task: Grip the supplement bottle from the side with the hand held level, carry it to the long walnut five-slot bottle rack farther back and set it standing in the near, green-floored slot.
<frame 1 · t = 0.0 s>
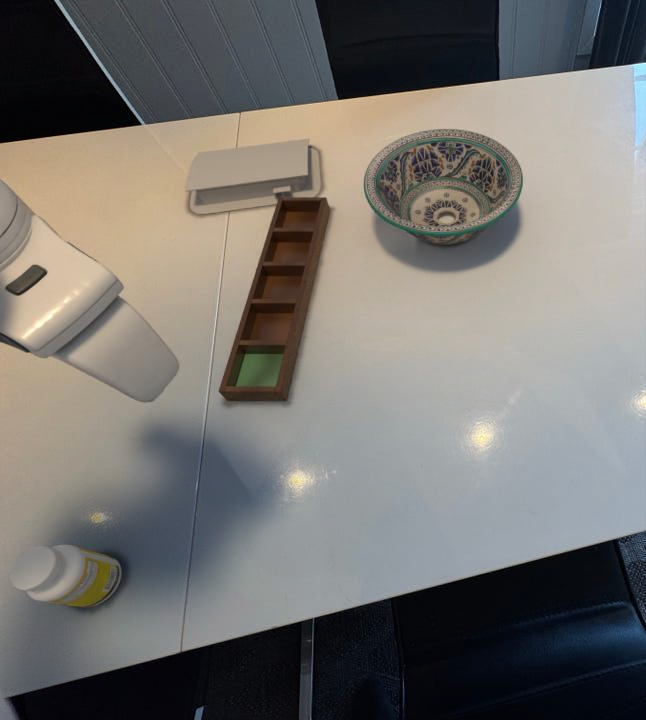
hand: (111, 371, 44), 24 cm above the table, tool pointing down, fingers open, 8 cm apart
bowl: (446, 223, 88), on the table
rack: (285, 293, 79), on the table
supplement bottle: (99, 582, 57), on the table
grey hinged lid tray: (257, 179, 94), on the table
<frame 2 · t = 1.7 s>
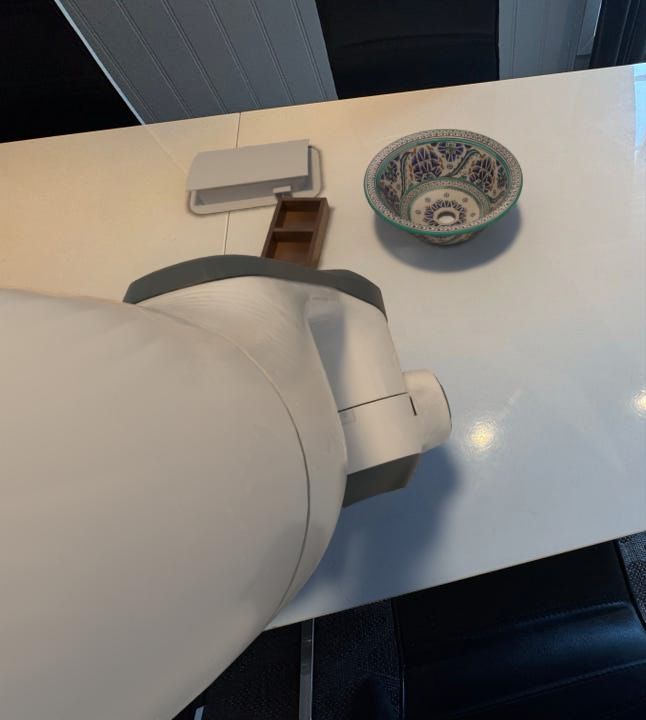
hand: (122, 503, 45), 17 cm above the table, tool horizontal, fingers open, 8 cm apart
nothing on the table moved.
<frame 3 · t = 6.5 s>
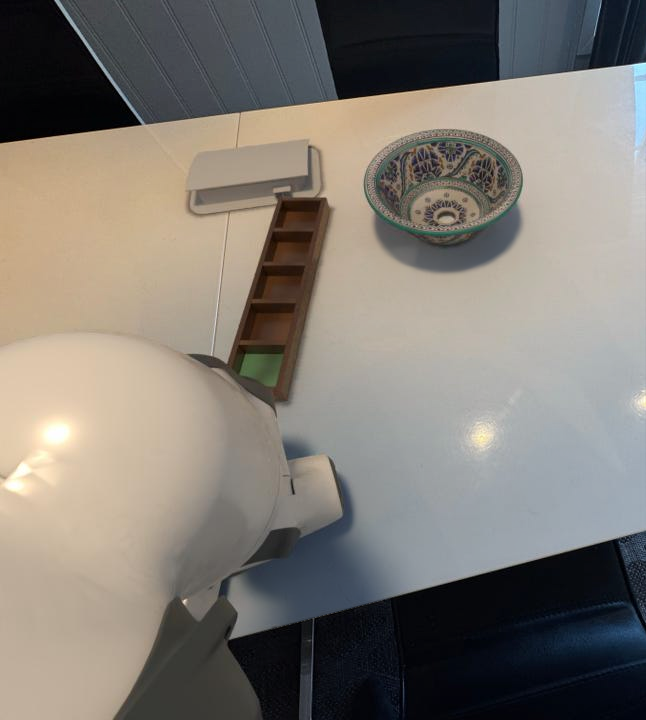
hand: (54, 577, 52), 6 cm above the table, tool horizontal, fingers closed on supplement bottle, 5 cm apart
supplement bottle: (99, 582, 57), on the table, touching gripper
everything else where it was.
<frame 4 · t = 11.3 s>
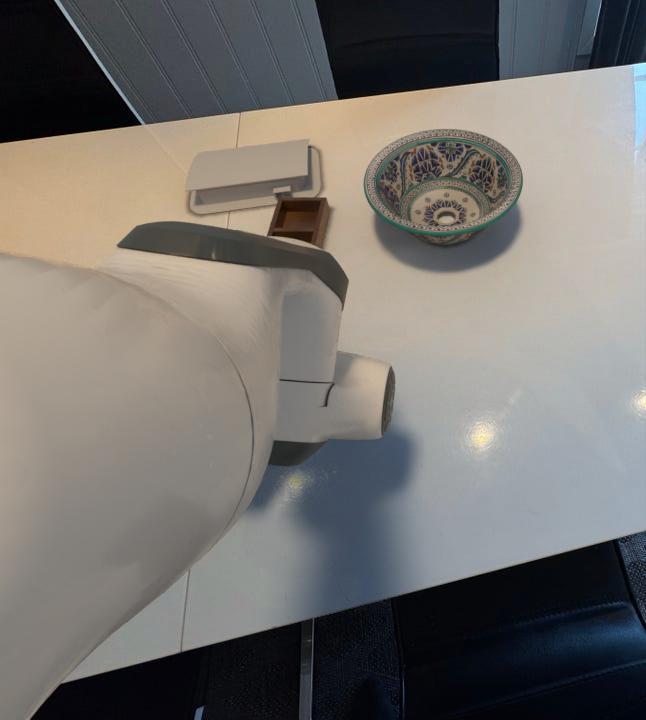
hand: (115, 367, 53), 17 cm above the table, tool horizontal, fingers closed on supplement bottle, 5 cm apart
supplement bottle: (156, 391, 58), point 11 cm above the table, touching gripper
everything else where it was.
when the fingers open (6 cm above the table, at t = 16.4 s): supplement bottle stays where it is, resting on rack.
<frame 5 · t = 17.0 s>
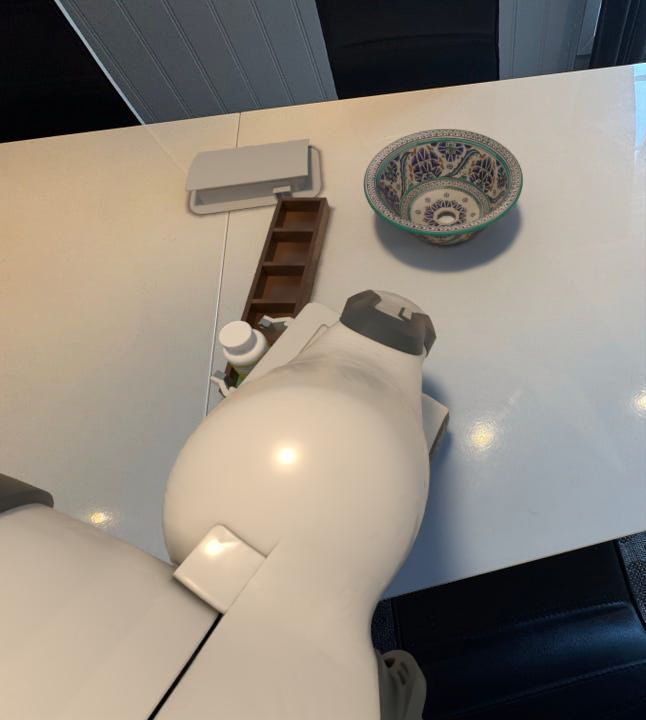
hand: (239, 348, 66), 6 cm above the table, tool horizontal, fingers open, 8 cm apart
supplement bottle: (264, 373, 71), resting on rack
everything else where it was.
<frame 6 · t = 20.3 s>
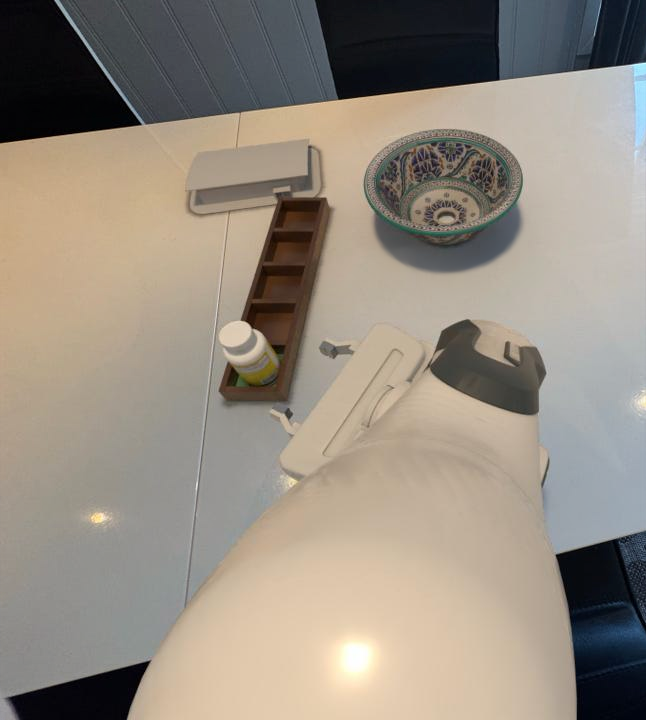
hand: (299, 376, 58), 11 cm above the table, tool horizontal, fingers open, 8 cm apart
nothing on the table moved.
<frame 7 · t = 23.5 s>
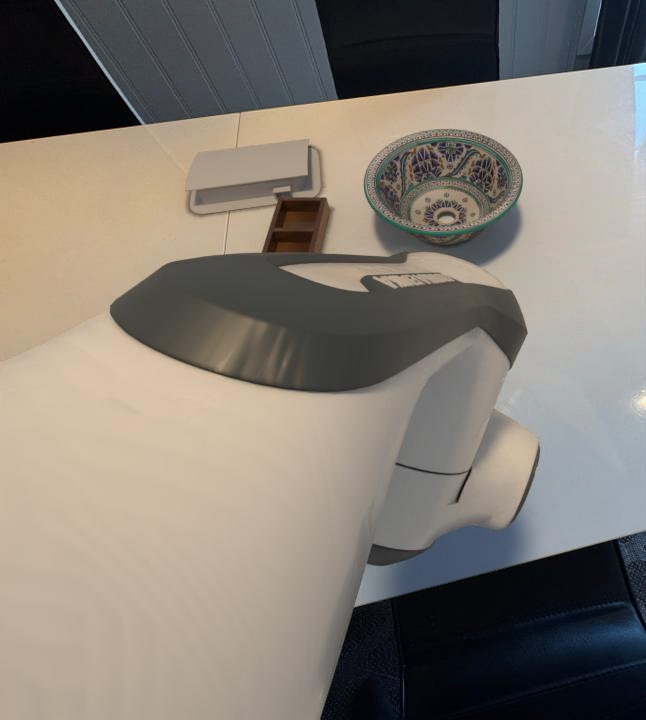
hand: (214, 341, 44), 25 cm above the table, tool horizontal, fingers open, 8 cm apart
nothing on the table moved.
at the end: supplement bottle 0.2 cm from the target spot in the rack, point 0.3 cm above the rack's base; supplement bottle tilted 0°; the gripper is holding nothing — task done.
